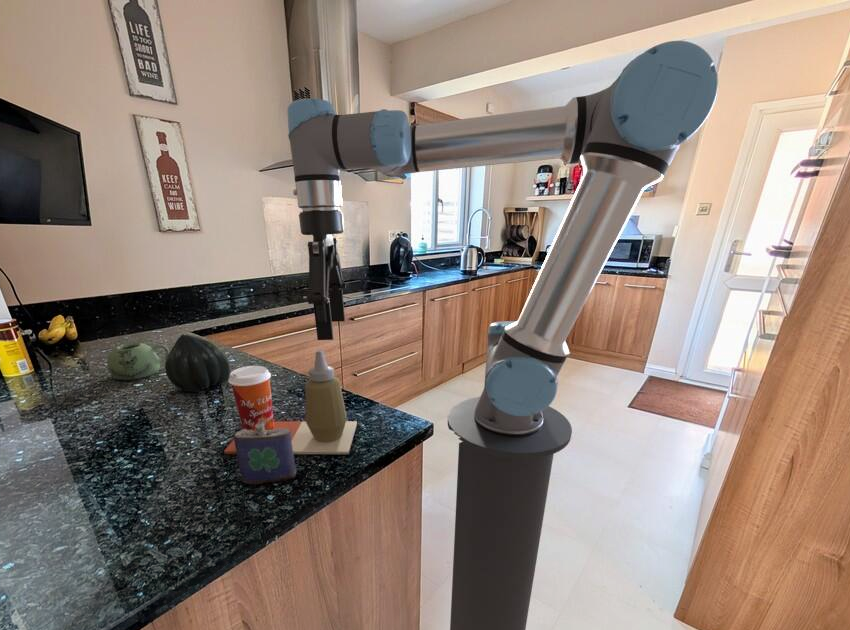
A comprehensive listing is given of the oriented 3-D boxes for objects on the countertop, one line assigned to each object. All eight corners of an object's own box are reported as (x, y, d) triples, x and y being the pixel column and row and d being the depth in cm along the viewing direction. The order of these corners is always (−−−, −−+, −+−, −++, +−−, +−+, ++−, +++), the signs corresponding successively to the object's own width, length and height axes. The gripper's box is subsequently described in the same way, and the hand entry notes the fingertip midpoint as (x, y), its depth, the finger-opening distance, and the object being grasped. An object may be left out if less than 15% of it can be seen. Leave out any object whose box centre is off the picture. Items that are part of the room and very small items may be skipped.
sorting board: (357, 423, 85) (356, 421, 85) (348, 454, 74) (348, 451, 74) (248, 423, 86) (248, 421, 86) (224, 454, 75) (223, 451, 75)
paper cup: (249, 449, 75) (236, 382, 70) (234, 435, 80) (221, 371, 75) (287, 435, 80) (277, 371, 74) (270, 422, 85) (260, 361, 80)
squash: (235, 372, 100) (217, 322, 103) (169, 387, 93) (153, 333, 96) (235, 391, 112) (219, 346, 115) (177, 406, 105) (162, 357, 108)
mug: (110, 386, 107) (100, 356, 104) (111, 372, 117) (102, 344, 114) (175, 373, 115) (168, 345, 112) (171, 361, 125) (164, 335, 122)
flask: (297, 470, 70) (289, 417, 65) (295, 480, 67) (286, 426, 63) (244, 474, 69) (232, 421, 64) (239, 485, 66) (227, 430, 62)
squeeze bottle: (336, 421, 85) (328, 342, 78) (355, 437, 79) (349, 352, 72) (301, 433, 80) (290, 350, 73) (318, 450, 74) (308, 361, 67)
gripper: (315, 211, 79) (326, 315, 88) (276, 209, 56) (296, 349, 65) (351, 210, 79) (359, 314, 87) (328, 207, 56) (341, 348, 64)
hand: (332, 329), depth 76 cm, fingers open, 13 cm apart
